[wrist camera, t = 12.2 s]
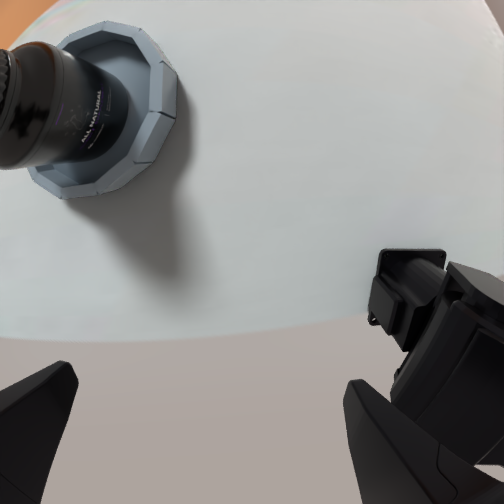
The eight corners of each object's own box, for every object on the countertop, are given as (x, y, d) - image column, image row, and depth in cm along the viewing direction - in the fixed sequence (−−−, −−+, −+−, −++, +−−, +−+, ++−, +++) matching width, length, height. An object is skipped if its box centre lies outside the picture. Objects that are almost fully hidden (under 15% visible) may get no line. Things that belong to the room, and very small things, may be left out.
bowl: (180, 21, 14) (168, 3, 11) (177, 184, 18) (163, 190, 15) (48, 62, 14) (27, 55, 12) (45, 198, 19) (22, 205, 16)
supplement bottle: (142, 139, 16) (2, 133, 5) (68, 175, 17) (-61, 208, 6) (123, 56, 14) (9, -6, 3) (54, 98, 15) (-65, 87, 4)
